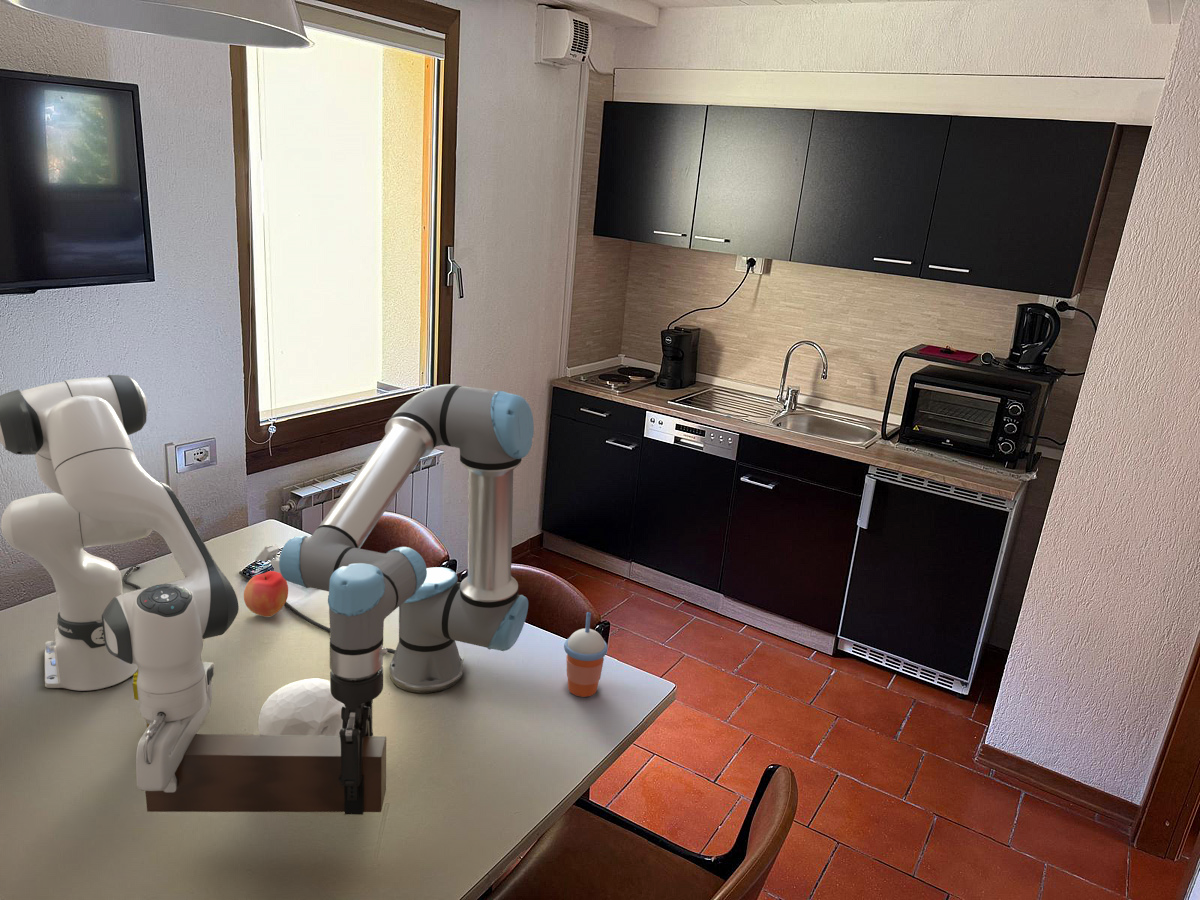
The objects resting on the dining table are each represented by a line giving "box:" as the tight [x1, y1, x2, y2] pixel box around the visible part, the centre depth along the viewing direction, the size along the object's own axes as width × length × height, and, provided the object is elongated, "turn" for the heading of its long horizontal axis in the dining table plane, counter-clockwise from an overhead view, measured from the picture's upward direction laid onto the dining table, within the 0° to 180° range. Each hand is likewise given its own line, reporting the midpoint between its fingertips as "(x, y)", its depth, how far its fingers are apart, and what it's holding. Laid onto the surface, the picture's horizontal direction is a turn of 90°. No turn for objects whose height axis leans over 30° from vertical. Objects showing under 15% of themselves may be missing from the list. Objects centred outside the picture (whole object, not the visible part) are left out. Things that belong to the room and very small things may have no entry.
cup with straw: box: [563, 611, 609, 698], centre depth 179 cm, size 9×9×18 cm
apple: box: [243, 570, 289, 618], centre depth 199 cm, size 10×10×10 cm
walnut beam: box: [144, 733, 387, 813], centre depth 129 cm, size 34×5×10 cm, turn 95°
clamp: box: [254, 544, 281, 573], centre depth 219 cm, size 20×4×7 cm, turn 62°
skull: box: [257, 677, 345, 736], centre depth 150 cm, size 13×22×16 cm, turn 73°
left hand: (179, 774), depth 128 cm, fingers closed on walnut beam, 5 cm apart
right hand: (357, 799), depth 132 cm, fingers closed on walnut beam, 5 cm apart
